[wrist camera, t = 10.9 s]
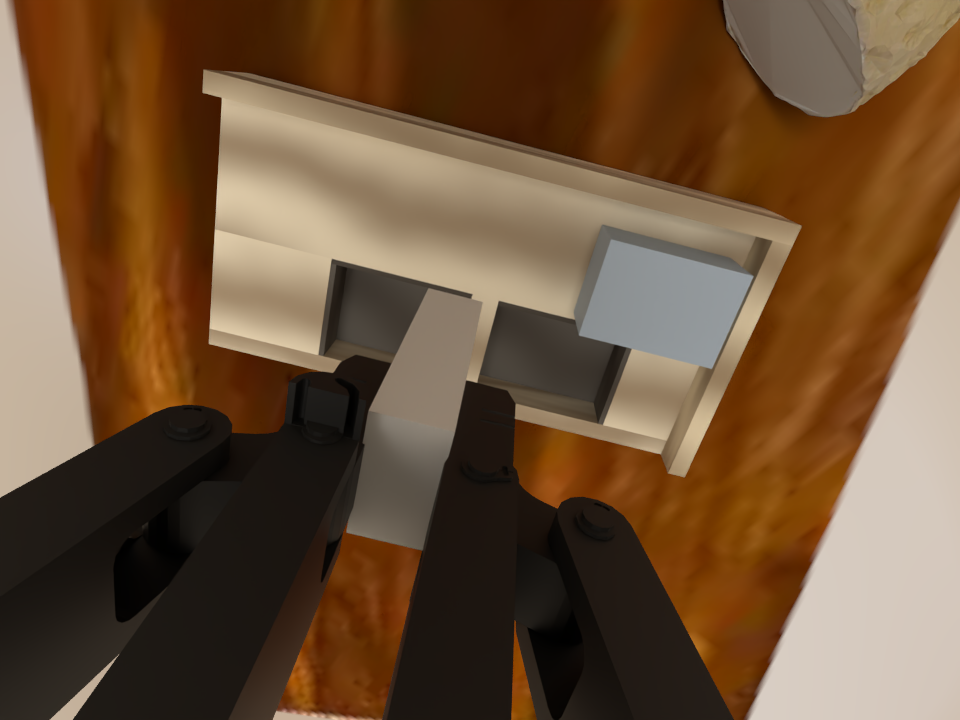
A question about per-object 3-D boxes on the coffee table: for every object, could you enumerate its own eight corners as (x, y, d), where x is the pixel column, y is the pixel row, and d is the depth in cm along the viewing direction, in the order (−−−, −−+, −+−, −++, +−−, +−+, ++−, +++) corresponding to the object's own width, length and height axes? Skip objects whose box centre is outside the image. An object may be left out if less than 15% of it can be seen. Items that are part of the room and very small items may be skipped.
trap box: (249, 73, 32) (203, 69, 28) (763, 207, 33) (801, 225, 29) (231, 325, 38) (191, 357, 34) (665, 432, 39) (684, 477, 35)
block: (601, 224, 31) (611, 239, 28) (730, 257, 31) (753, 276, 28) (573, 312, 33) (578, 335, 30) (693, 342, 33) (712, 369, 30)
